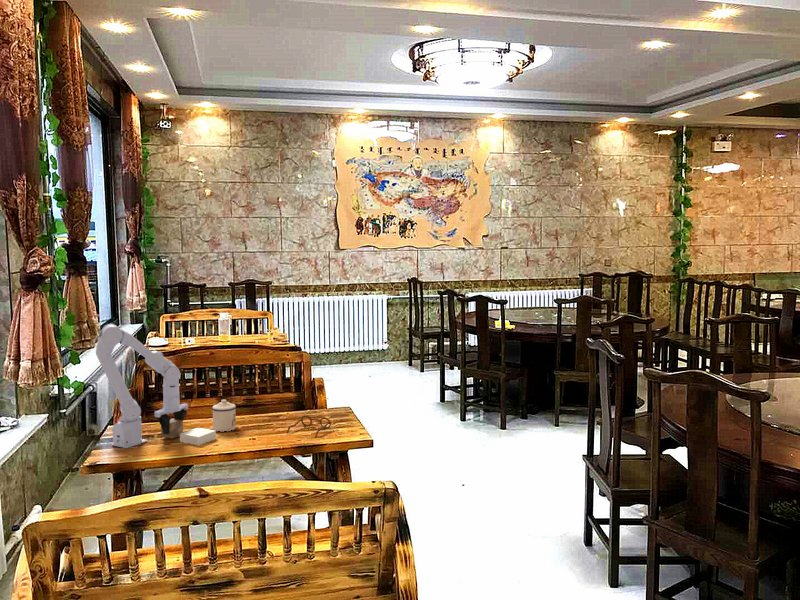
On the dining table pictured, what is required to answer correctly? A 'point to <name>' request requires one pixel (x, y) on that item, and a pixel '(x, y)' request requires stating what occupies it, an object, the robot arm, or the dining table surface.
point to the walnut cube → (174, 429)
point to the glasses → (311, 423)
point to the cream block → (198, 436)
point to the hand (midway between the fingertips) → (172, 431)
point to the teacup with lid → (224, 416)
